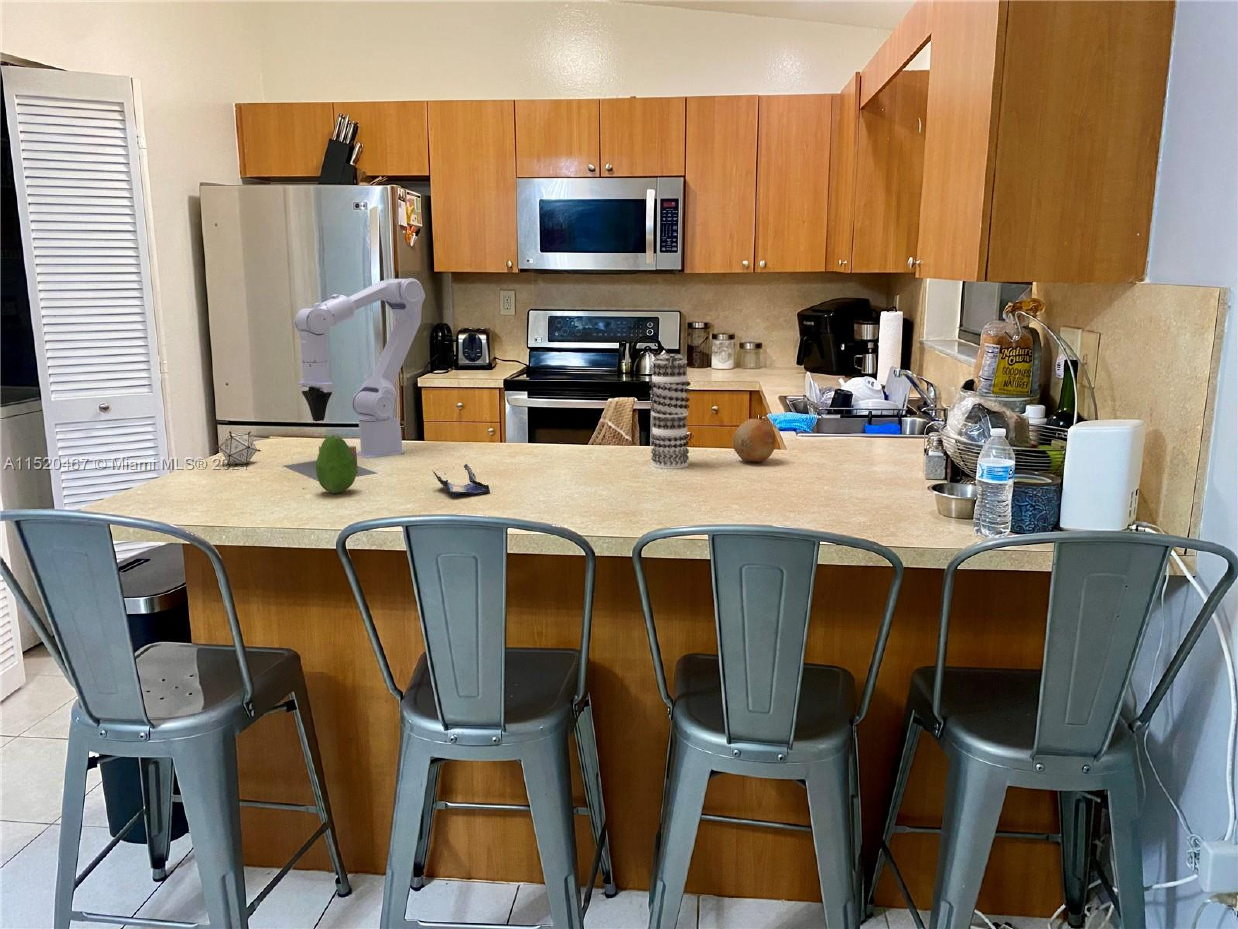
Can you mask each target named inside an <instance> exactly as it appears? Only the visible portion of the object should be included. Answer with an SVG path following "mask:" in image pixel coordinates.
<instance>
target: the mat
mask: <svg viewBox="0 0 1238 929" xmlns="http://www.w3.org/2000/svg"><path fill="white" fill-rule="evenodd" d="M316 462H317V460H313V461H307V462H306V461H305V462H299V463H293V464H291V463H290V464H285V465H282V467H283V468H286V469H288V470H290V471H293V472H295V473H297V474H300V475H302V476H305V477H307V478H309V479H312V480H314V481H316V482H319V480H318V478H317V475H316ZM357 466H358V474H356V478H358V477H359V478H360V477H364V476H369V475H371V476H372V475H377V474H378V472H376V471H374V470H370V469H368V468H365V467H362V466H359V465H357Z"/></svg>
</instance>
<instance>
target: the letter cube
mask: <svg viewBox="0 0 1238 929" xmlns="http://www.w3.org/2000/svg"><path fill="white" fill-rule="evenodd" d="M346 444H347V445H348V447H349V448H350V450H351V451H352V454H353V456H354V458H355V460H356V465H357V474H358V466H359V465H358V455H357V453H356V452H357V445H353V444H350V443H347V442H346ZM320 448H321V445H318V453H319V452H320Z"/></svg>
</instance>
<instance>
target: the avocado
mask: <svg viewBox="0 0 1238 929" xmlns="http://www.w3.org/2000/svg"><path fill="white" fill-rule="evenodd" d="M346 443H347V442H346V441H345V440H344V439H343V438H342V437H340V436H338V435H335V434H331V435H328V436H327V437H326V438H325V439H324V440H323V441H322V442H321V445H320V446H321V448H320V452H319V451H318V455H317V459H316V461H317V462H316V475H317V478H318V480H319V481H318V483H319V485H320V486H321V487H322V489H324V490H325V491H327V493H328V492H329V493H331V494H341V493H343V492H345V491H347V490H348V489H349V488H351V486H353V484H354V483H355V480H356V478H357V477H356V474H357V466H358V464H357V465H356V460H355V458H354V456H353V454H352V451H351V450H350V448H349V447H348V445H347V444H346Z"/></svg>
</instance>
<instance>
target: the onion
mask: <svg viewBox="0 0 1238 929" xmlns="http://www.w3.org/2000/svg"><path fill="white" fill-rule="evenodd" d="M776 440H777V439H776V434H775V432H774V430H773V429H772V427H771V425H770V424H769V423H768V422H766V421H764V420H762V419H758V418H748V419H747V420H745V421H743V423H741V424H740V425H739V426H738V427H737V428H736V430H735V432H734V433H733V437H732V447H733V450H734V452H735V453H736V455H737V456H738V457H739V458H740V459H741V460H742V461H744V462H750V463H764V462H765V461H767V459H769V458H770V457H771V455H772V454H773V453H774V451H775V447H776V443H777V441H776Z"/></svg>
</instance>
